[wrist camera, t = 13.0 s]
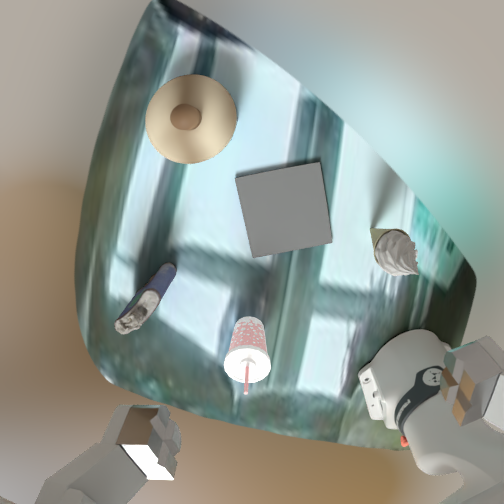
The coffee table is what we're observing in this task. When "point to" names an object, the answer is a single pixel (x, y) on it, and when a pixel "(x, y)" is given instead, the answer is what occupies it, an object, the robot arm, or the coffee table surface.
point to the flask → (145, 300)
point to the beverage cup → (248, 352)
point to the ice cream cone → (394, 251)
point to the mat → (284, 209)
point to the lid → (191, 119)
